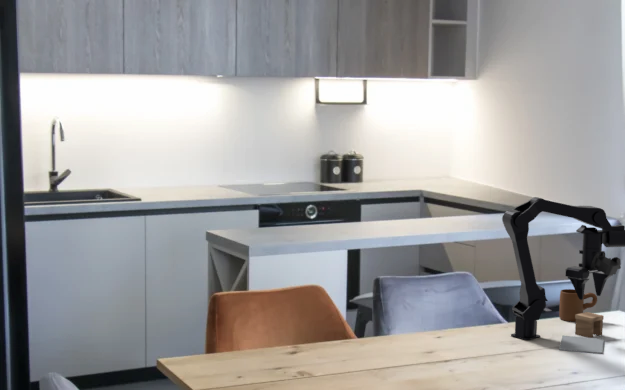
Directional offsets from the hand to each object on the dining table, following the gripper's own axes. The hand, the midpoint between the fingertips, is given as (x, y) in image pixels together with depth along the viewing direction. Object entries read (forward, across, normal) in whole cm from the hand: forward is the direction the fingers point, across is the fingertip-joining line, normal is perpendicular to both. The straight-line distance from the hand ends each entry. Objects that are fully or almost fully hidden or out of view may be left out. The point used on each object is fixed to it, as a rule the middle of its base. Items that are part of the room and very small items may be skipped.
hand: (589, 297), depth 285 cm
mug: (+12, +14, +14) cm, 23 cm away
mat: (+12, -12, -6) cm, 18 cm away
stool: (+12, 0, 0) cm, 12 cm away
